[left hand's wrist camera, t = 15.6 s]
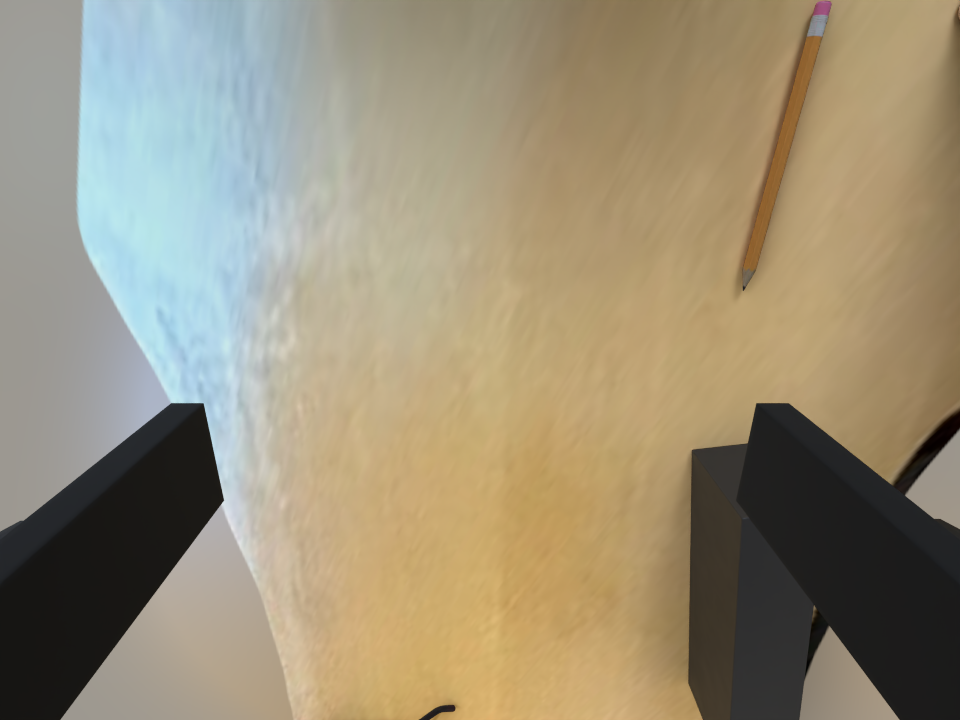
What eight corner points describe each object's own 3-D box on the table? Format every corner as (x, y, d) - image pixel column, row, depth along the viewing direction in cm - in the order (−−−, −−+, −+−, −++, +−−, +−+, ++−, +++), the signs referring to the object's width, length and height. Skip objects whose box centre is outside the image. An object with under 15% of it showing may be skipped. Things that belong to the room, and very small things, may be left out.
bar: (691, 449, 46) (741, 518, 37) (759, 441, 46) (826, 509, 37) (688, 682, 57) (726, 780, 48) (743, 677, 56) (792, 774, 48)
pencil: (812, 2, 34) (733, 289, 41) (828, -1, 33) (745, 292, 40) (820, 5, 34) (741, 288, 41) (836, 2, 33) (752, 292, 40)
